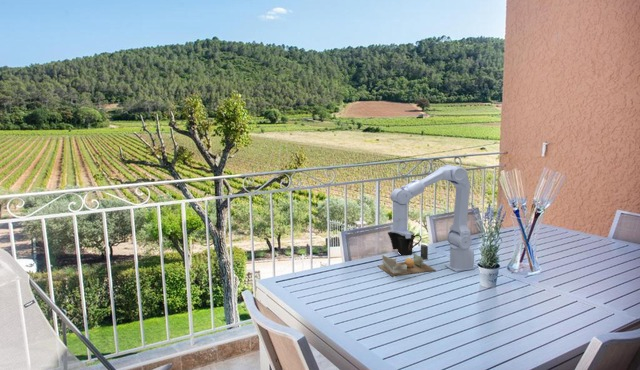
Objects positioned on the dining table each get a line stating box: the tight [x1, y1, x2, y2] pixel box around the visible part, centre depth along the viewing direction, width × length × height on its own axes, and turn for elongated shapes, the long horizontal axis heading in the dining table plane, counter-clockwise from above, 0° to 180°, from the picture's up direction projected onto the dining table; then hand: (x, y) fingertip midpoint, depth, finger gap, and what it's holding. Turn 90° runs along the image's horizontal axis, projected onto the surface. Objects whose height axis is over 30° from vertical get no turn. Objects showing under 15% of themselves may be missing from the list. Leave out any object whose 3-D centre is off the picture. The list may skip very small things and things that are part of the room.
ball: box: [404, 257, 414, 267], centre depth 204 cm, size 4×4×4 cm
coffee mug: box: [397, 230, 422, 257], centre depth 224 cm, size 12×9×10 cm
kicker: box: [413, 244, 429, 266], centre depth 205 cm, size 5×6×8 cm
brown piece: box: [377, 254, 437, 277], centre depth 203 cm, size 20×14×6 cm
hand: (399, 251), depth 194 cm, fingers open, 7 cm apart
